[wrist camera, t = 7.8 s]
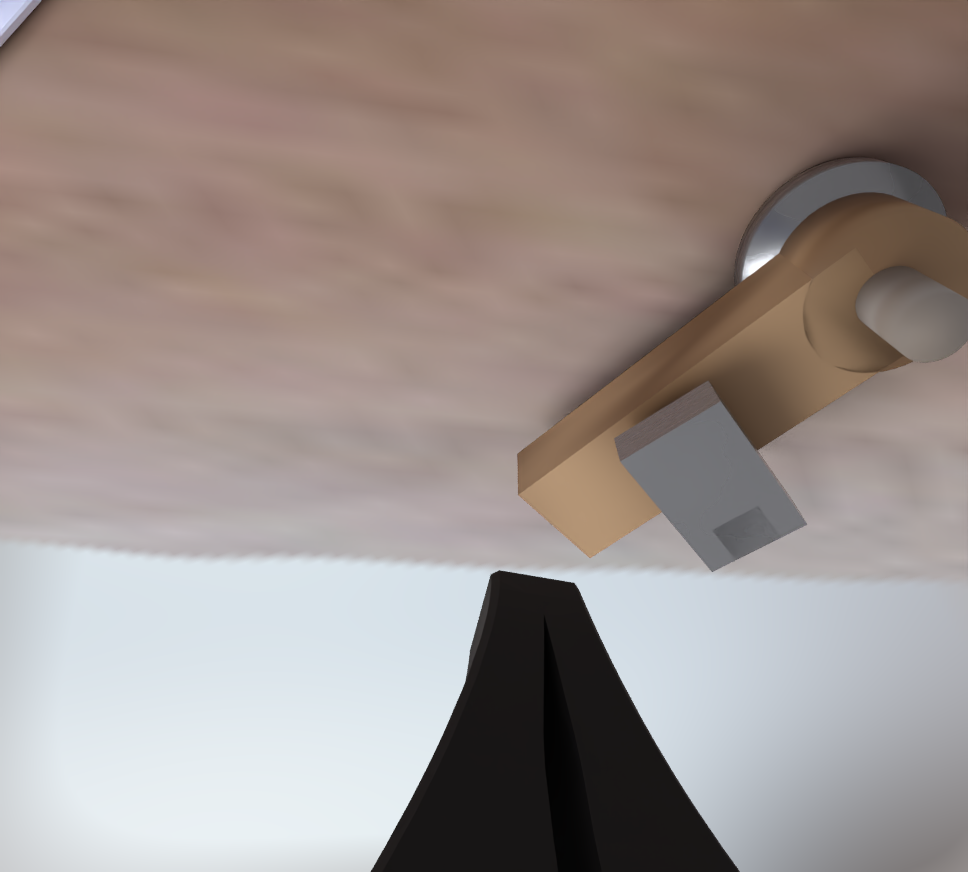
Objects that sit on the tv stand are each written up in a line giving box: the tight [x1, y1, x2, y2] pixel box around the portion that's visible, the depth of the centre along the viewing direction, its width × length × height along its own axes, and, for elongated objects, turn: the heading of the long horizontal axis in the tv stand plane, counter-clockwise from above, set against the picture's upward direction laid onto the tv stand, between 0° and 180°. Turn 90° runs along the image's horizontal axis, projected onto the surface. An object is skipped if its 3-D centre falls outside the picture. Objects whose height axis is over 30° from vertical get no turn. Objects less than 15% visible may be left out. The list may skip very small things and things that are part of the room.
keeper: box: [614, 381, 807, 572], centre depth 17 cm, size 2×4×5 cm, turn 40°
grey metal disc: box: [734, 157, 947, 286], centre depth 16 cm, size 5×5×1 cm
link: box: [518, 192, 968, 558], centre depth 15 cm, size 11×4×4 cm, turn 134°
